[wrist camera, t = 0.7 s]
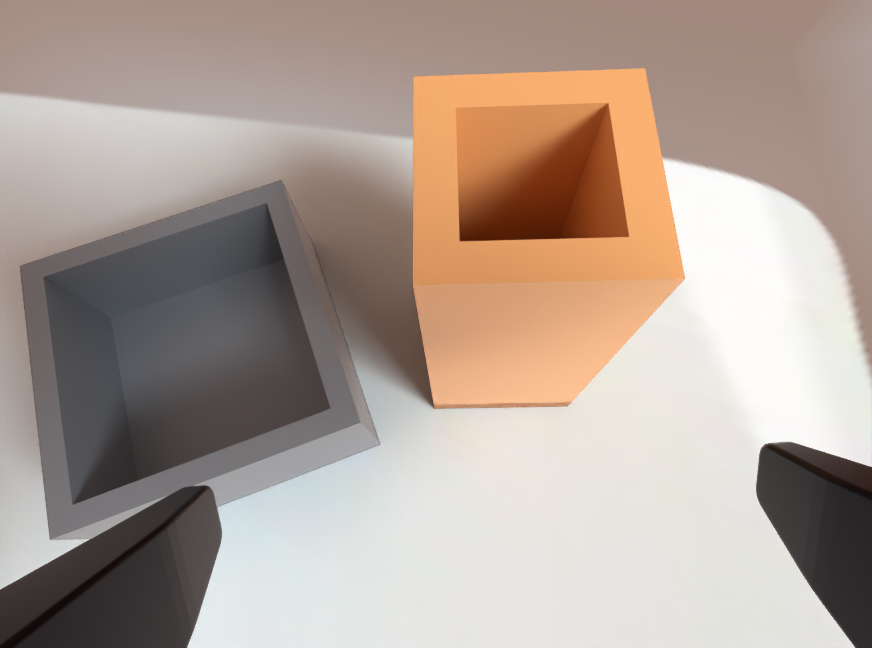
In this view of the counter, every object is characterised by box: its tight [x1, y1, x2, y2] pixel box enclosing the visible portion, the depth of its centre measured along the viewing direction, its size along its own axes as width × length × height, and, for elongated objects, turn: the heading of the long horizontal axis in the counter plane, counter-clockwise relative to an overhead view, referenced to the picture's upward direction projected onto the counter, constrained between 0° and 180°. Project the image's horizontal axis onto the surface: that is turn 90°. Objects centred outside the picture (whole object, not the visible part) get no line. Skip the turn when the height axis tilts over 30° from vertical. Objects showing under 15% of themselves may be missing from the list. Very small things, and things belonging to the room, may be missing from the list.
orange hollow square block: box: [413, 69, 685, 409], centre depth 18 cm, size 6×6×12 cm
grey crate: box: [20, 180, 380, 540], centre depth 21 cm, size 10×10×5 cm
